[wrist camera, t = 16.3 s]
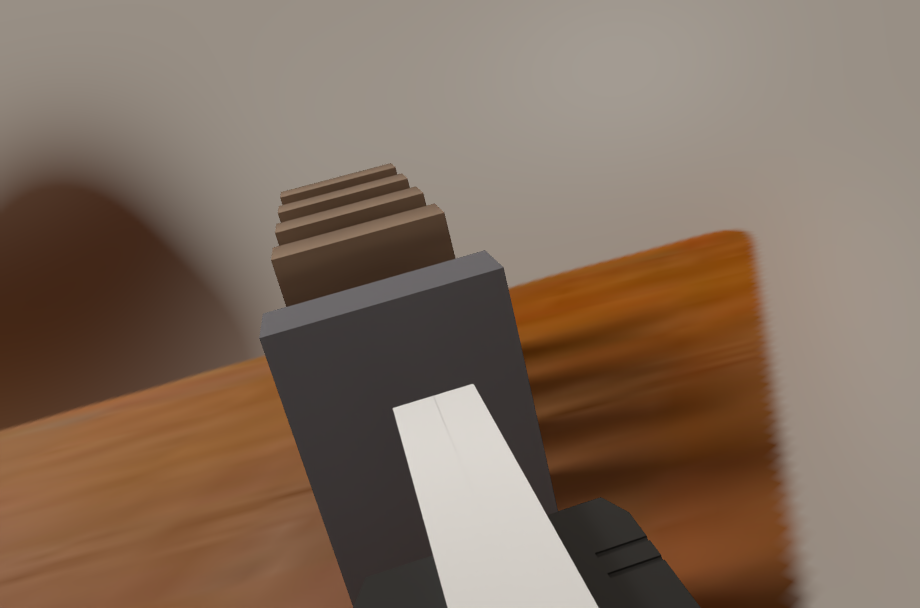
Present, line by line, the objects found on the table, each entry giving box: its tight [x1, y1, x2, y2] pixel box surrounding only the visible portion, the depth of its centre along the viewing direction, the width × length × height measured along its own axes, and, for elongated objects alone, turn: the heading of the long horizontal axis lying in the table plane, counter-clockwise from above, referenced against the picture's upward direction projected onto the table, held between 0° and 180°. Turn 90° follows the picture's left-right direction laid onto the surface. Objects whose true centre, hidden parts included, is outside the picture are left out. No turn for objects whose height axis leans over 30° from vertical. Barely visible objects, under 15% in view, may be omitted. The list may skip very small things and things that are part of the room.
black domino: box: [260, 250, 558, 607], centre depth 17 cm, size 2×5×10 cm, turn 102°
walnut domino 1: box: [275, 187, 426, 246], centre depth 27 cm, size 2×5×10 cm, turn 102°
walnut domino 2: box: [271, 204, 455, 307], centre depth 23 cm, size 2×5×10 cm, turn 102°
